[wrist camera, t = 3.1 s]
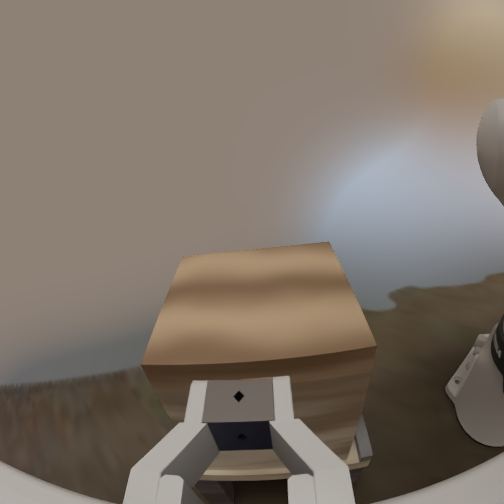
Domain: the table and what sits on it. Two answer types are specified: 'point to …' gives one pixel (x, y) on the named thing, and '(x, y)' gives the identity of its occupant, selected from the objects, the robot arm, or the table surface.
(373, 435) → the table surface
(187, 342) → the wood grain block
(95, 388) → the table surface
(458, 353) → the table surface
